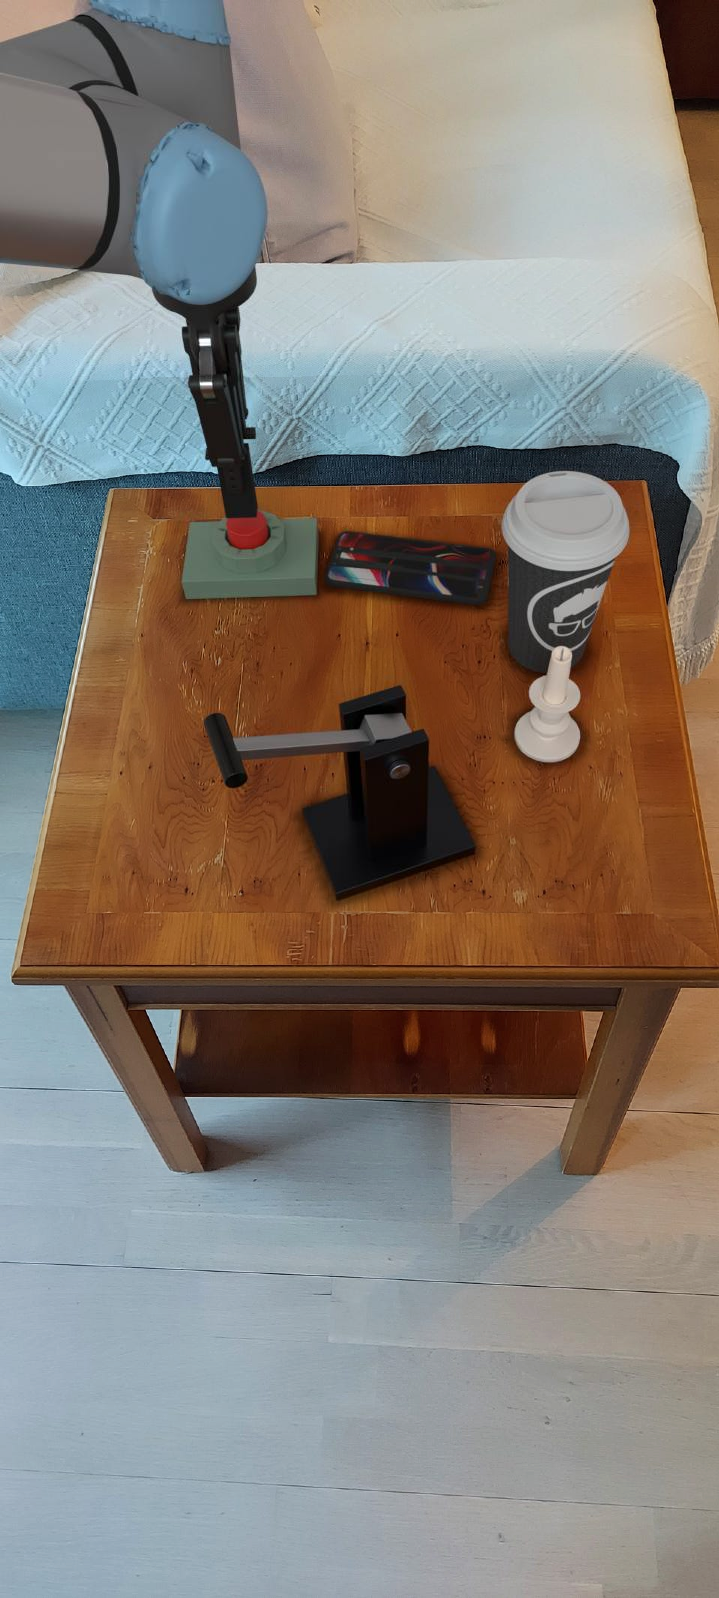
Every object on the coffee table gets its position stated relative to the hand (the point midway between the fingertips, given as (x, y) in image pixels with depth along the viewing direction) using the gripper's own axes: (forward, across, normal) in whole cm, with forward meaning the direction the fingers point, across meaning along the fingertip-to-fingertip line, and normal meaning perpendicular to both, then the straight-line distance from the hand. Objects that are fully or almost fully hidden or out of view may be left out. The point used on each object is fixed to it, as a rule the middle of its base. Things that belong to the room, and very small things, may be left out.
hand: (241, 512), depth 88 cm
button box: (+7, 0, 0) cm, 7 cm away
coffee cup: (+7, -11, -26) cm, 29 cm away
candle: (+7, -21, -25) cm, 33 cm away
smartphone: (+7, -1, -15) cm, 16 cm away
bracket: (+7, -30, -12) cm, 33 cm away
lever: (-6, -32, -7) cm, 33 cm away
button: (+3, 0, 0) cm, 3 cm away
